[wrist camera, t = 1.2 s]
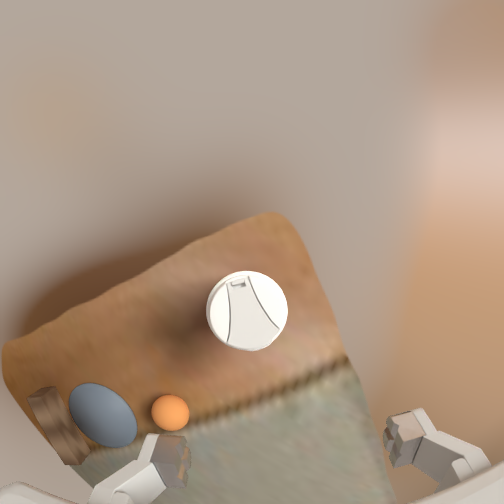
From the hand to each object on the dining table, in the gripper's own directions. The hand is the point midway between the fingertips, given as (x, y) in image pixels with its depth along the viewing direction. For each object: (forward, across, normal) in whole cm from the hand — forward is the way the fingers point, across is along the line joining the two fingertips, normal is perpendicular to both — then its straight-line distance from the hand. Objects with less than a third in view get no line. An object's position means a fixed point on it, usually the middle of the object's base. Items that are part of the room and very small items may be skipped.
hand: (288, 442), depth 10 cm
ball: (+24, -15, -21) cm, 35 cm away
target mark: (+25, -29, -24) cm, 45 cm away
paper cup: (+31, -3, -5) cm, 32 cm away
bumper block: (+24, -38, -26) cm, 52 cm away
